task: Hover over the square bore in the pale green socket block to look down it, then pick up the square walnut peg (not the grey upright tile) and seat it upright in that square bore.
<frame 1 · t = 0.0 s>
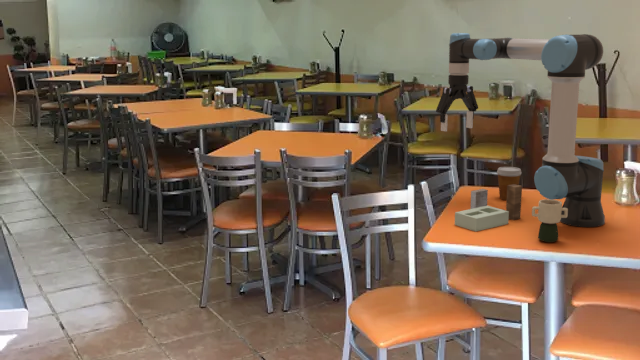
hand: (456, 129, 283), 28 cm above the table, tool pointing down, fingers open, 13 cm apart
grey upright tile: (478, 214, 267), on the table
disposable coffee cup: (507, 199, 290), on the table
socket block: (481, 224, 254), on the table
walnut peg: (512, 218, 262), on the table
character mug: (547, 241, 235), on the table
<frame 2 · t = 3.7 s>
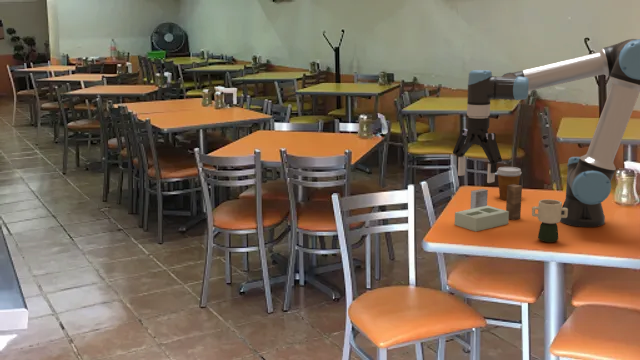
hand: (475, 178, 249), 17 cm above the table, tool pointing down, fingers open, 13 cm apart
nothing on the table moved.
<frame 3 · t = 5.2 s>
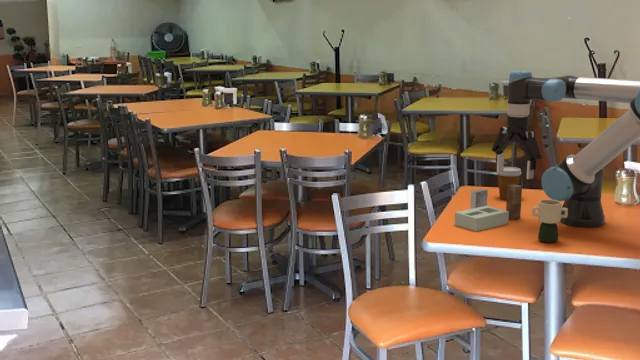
hand: (514, 175, 258), 16 cm above the table, tool pointing down, fingers open, 13 cm apart
nothing on the table moved.
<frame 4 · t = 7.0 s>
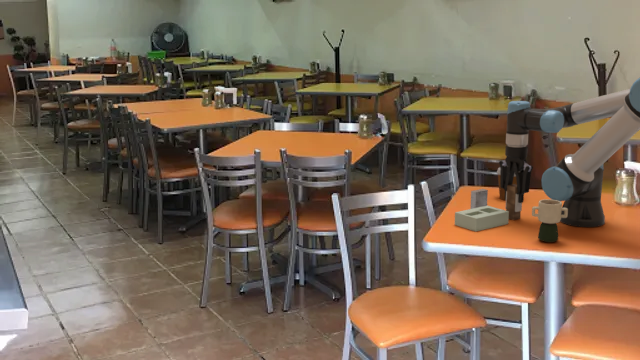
hand: (513, 209, 261), 3 cm above the table, tool pointing down, fingers closed on walnut peg, 4 cm apart
walnut peg: (512, 218, 262), on the table, touching gripper
everything else where it was.
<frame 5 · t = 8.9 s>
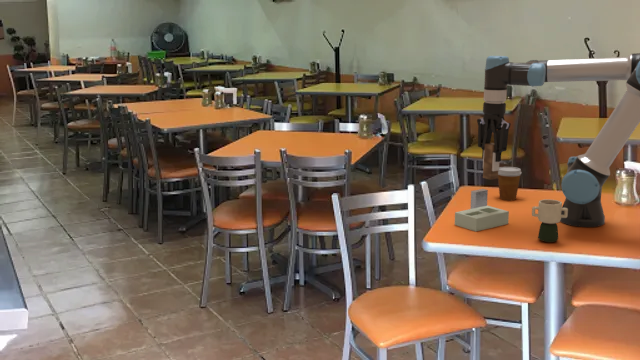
hand: (490, 169, 253), 19 cm above the table, tool pointing down, fingers closed on walnut peg, 4 cm apart
walnut peg: (490, 178, 253), point 16 cm above the table, touching gripper
everything else where it was.
when the fingers open (6 cm above the table, at t = 11.0 s): walnut peg drops 3 cm, resting in socket block.
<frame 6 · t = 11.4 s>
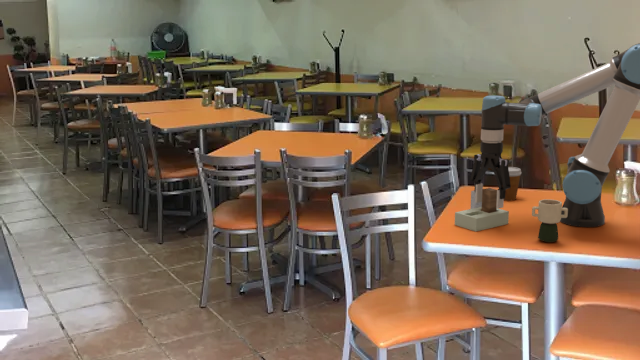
hand: (489, 204, 255), 7 cm above the table, tool pointing down, fingers open, 9 cm apart
walnut peg: (488, 222, 256), resting in socket block
everything else where it was.
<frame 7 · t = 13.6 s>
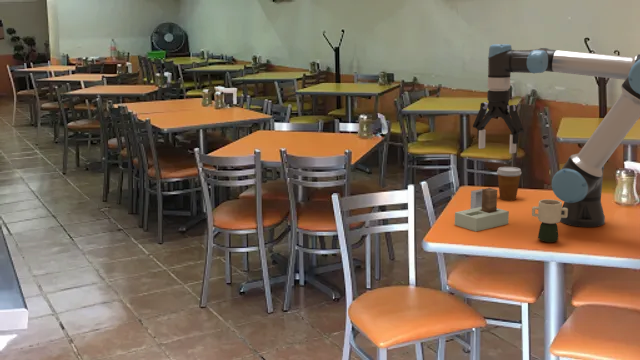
hand: (496, 150, 256), 25 cm above the table, tool pointing down, fingers open, 13 cm apart
nothing on the table moved.
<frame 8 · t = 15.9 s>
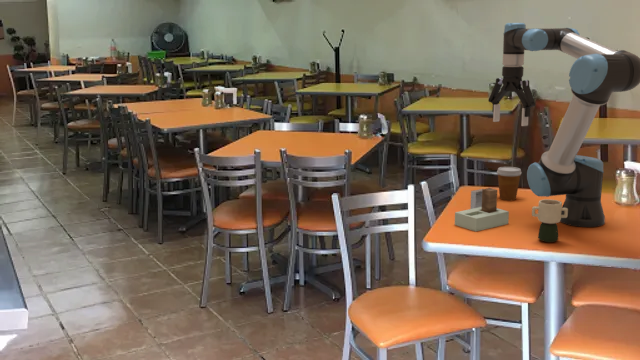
hand: (510, 123, 271), 32 cm above the table, tool pointing down, fingers open, 13 cm apart
nothing on the table moved.
at the end: walnut peg 0.0 cm from the target spot on the socket block, point 0.0 cm above the socket block's base; walnut peg tilted 0°; the gripper is holding nothing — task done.
